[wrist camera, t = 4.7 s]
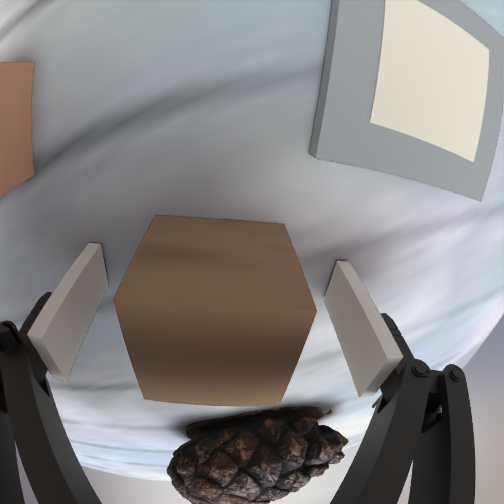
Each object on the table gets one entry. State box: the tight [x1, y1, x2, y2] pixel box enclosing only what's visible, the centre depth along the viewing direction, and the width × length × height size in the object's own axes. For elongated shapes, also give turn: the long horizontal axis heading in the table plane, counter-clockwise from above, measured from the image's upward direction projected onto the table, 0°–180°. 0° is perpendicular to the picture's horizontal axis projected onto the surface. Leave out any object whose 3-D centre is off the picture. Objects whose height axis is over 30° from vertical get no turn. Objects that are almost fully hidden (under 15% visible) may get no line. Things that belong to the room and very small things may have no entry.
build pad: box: [309, 0, 504, 202], centre depth 9 cm, size 11×11×1 cm
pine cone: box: [167, 407, 348, 504], centre depth 20 cm, size 10×18×10 cm, turn 120°
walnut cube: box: [114, 215, 317, 406], centre depth 12 cm, size 6×6×6 cm
